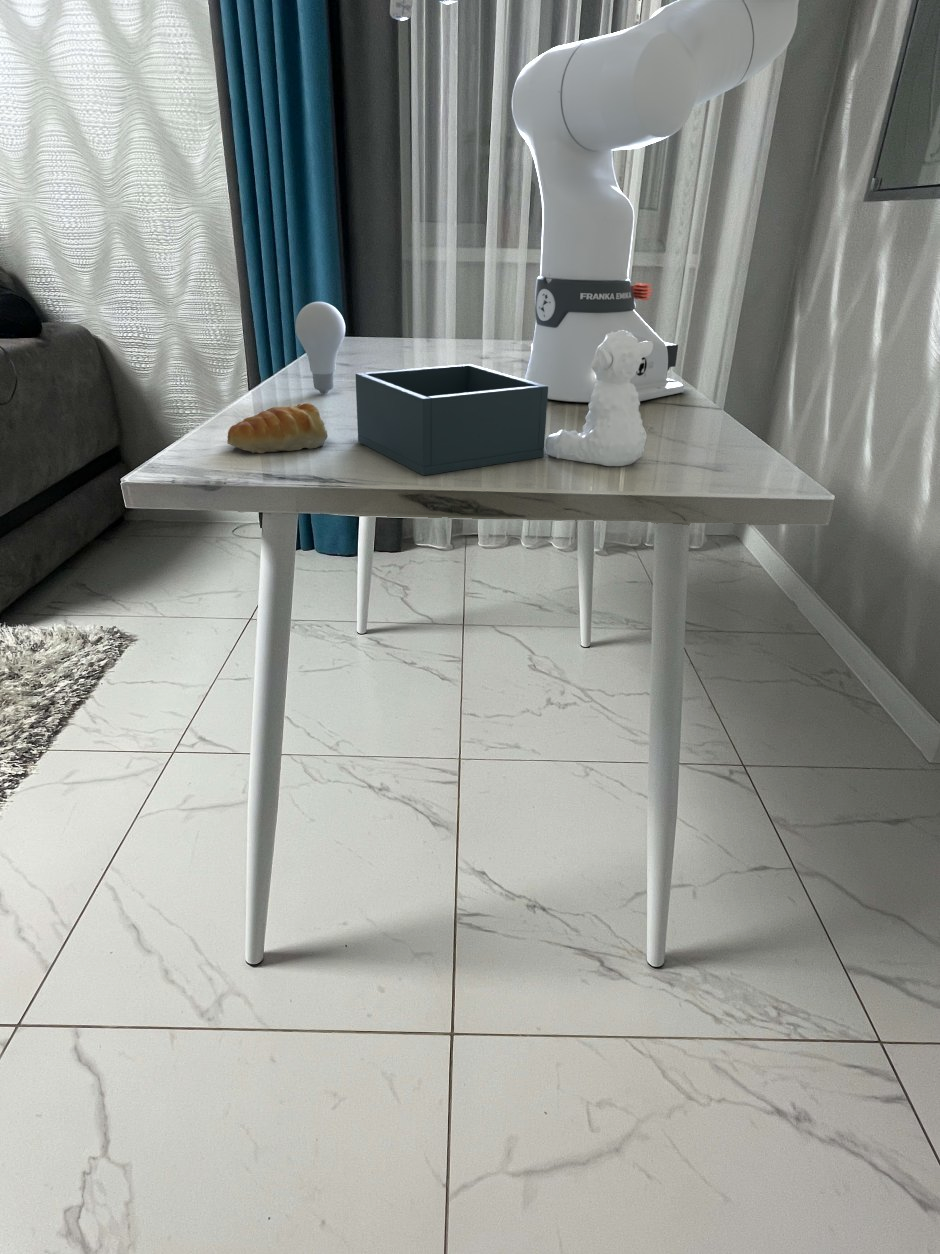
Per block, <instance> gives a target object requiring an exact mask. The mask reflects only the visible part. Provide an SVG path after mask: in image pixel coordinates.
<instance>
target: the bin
mask: <svg viewBox="0 0 940 1254" xmlns="http://www.w3.org/2000/svg"><path fill="white" fill-rule="evenodd" d="M354 375H355V396H356V398H355V399H356V420H357V422H356V423H357V442H358V443H359V444H362V445H363V446H366V447H368V448H369V449H370V450H371V449H372V450H373V451H375V452H377V453H379V454H381V455H383V456H385V457H387V458H389V459H391V460H393V461H395V462H396V463H398V464H401V465H402V466H404V467H406V468H408V469H410V470H412V471H414V472H416V473H417V474H420V475H421V476H429V475H435V474H436V475H437V474H443V473H450V472H456V471H462V470H468V469H475V468H480V467H481V468H482V467H488V466H493V465H500V464H508V463H513V462H519V461H526V460H533V459H538V458H539V459H540V458H544V456H545V443H546V427H547V412H548V400H549V399H548V386H546V385H542V384H539V383H535V382H532V381H528V380H525V378H522V377H517V376H514V375H510V374H508V373H503V372H500V371H497V370H493V369H489V368H486V367H482V366H479V365H476V364H472V363H468V364H467V363H466V364H454V365H442V366H441V365H440V366H431V367H418V368H416V367H415V368H405V369H392V370H381V371H368V372H358V373H357V372H356V373H355V374H354Z"/></svg>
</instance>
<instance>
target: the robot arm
mask: <svg viewBox="0 0 940 1254" xmlns="http://www.w3.org/2000/svg"><path fill="white" fill-rule="evenodd" d="M458 1H459V0H437V2H439V3H443V4H445V5H450V4H454V3H456V2H458ZM799 1H800V0H675V1H673V2H671V3H669V4H667V5H664V6H662V7H660V8H658V9H657V10H656V11H655V12H654V13H653V14H652V15H651V17H650V18H648V19H646V20H645V21H643V22H641V23H639V24H637V25H634V26H632V27H629V28H626V29H623V30H620V31H616V32H613V33H608V34H605V35H604V34H603V35H601V36H596V37H592V38H588V39H583V40H578V41H575V42H570V43H566V44H562V45H557V46H555V47H551V48H550V49H549V50H547V51H545V52H544V53H542V54H540V55H539V56H537V57H536V58H534V59H533V60H532V61H530V62H529V63H528V64H526V65H525V66H524V67H523V68H522V70H521V71H520V72H519V74H518V75H517V78H516V80H515V83H514V87H513V90H512V97H511V111H512V117H513V120H514V123H515V126H516V128H517V131H518V132H519V134H520V136H521V137H522V138H523V139H524V140H525V143H526V144H527V145H528V147H529V149H530V152H531V156H532V158H533V161H534V165H535V169H536V175H537V178H538V183H539V190H540V196H541V208H542V227H541V249H540V250H541V251H540V253H541V254H540V273H539V275H538V276H537V277H536V283H535V293H534V294H535V295H534V312H535V313H534V315H535V328H534V335H533V339H532V340H533V341H532V343H531V345H530V347H531V348H530V350H531V352H530V357H529V361H528V365H527V369H526V373H525V376H524V379H525V380H528V381H532V382H535V383H539V384H542V385H546V386H548V399H547V400H553V401H561V402H572V403H573V402H574V403H590V402H591V395H592V393H593V390H594V389H595V384H596V383H598V381H597V379H596V374H595V371H594V370H593V369H592V368H591V364H592V362H593V359H594V357H595V354H596V350H597V347H598V346H599V345H601V344H602V343H603V342H604V340H605V338H606V335H607V334H608V333H610V334H611V333H612V332H617V331H622V330H624V331H626V332H627V333H632V335H633V336H634V337H635V338H637V339H638V343H640V342H644V341H652V343H653V349H652V352H651V354H650V355H648V356H646V357H643V358H642V361H641V364H640V366H639V369H638V370H637V371H636V373H635V375H634V377H632V378H631V379H630V383H632V384H634V386H635V388H636V391H637V392H638V395H639V396H638V400H639V402H644V401H649V400H653V399H658V398H662V397H666V396H672V395H675V394H680V393H684V385H683V384H682V383H681V382H679V381H676V380H675V379H672V378H668V372H669V371H670V368H675V367H676V365H677V357H678V351H679V350H678V349H679V344H675V343H671V342H666V341H664V340H663V338H661V337H660V336H659V335H658V334H657V333H656V332H655V331H654V330H653V329H652V328H651V327H650V325H648V323H646V321H645V320H644V319H643V318H642V317H641V316H640V315H639V314H638V313H637V312H636V310H635V309H636V308H637V305H636V301H635V300H641V301H649V300H650V299H651V297H652V296H653V294H652V293H654V291H653V287H652V284H651V283H642V282H636V283H635V284H634V285H633V284H632V281H631V280H630V278H629V274H630V273H629V272H630V264H631V263H630V262H631V253H632V245H633V244H632V243H633V236H634V235H633V234H634V226H635V225H634V224H635V211H634V208H633V205H632V202H631V201H630V199H628V197H627V196H626V195H625V194H624V193H623V192H622V191H621V189H620V186H619V184H618V181H617V177H616V173H615V169H614V167H615V166H614V160H613V159H614V158H613V151H620V150H635V149H640V148H643V147H646V146H648V145H651V144H655V143H657V142H660V141H662V140H664V139H666V138H669V137H671V136H673V135H675V134H676V133H677V132H679V131H680V130H681V129H682V128H683V127H684V126H685V124H686V123H687V122H688V119H689V118H690V116H691V114H692V111H693V110H694V108H696V107H698V106H700V105H702V104H704V103H706V102H708V101H710V100H712V99H714V98H716V97H718V96H721V95H722V94H724V93H726V92H728V91H730V90H732V89H734V88H736V87H738V86H739V85H741V84H743V83H745V82H746V81H748V80H750V79H751V78H753V77H754V76H756V75H757V74H759V73H761V71H763V70H764V69H765V68H767V67H768V66H769V65H770V64H771V63H773V62H774V61H775V60H776V59H777V58H778V57H779V56H781V55H782V53H783V52H784V51H785V50H786V49H787V47H788V46H789V44H790V42H791V40H792V39H793V37H794V34H795V32H796V28H797V24H798V16H799V15H798V13H799V10H798V9H799ZM412 7H413V0H390V2H389V15H390V17H391V19H394V20H396V21H397V20H398V21H401V22H402V21H406V20H408V19H410V18H411V17H412V11H413V10H412Z"/></svg>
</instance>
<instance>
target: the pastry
mask: <svg viewBox="0 0 940 1254" xmlns="http://www.w3.org/2000/svg"><path fill="white" fill-rule="evenodd" d="M226 439H227V442H226V443H227V445H229V446H232V447H234V448H238V449H240V450H243V451H248V452H251V454H254V453H258V454H264V453H268V452H270V453H271V452H273V453H278V452H281V451H282V452H284V451H286V452H292V451H300V450H302V449H305V448H307V449H308V450H309V449H310V450H311V449H316V448H319V447H321V446H323V445H325V441H326V440H327V439H328V430H327V428H326V425H325V422H324V420H323V419H322V417H321V414H320V411H319V409H318V408H317V407H316V406H315V405H314V404H312V403H311V402H307V403H302V404H301V403H298V404H296V405H295V406H292V405H288V406H287V405H286V406H284V405H282V406H272V407H270V408H267V409H266V410H262V411H260V412H258V413H257V414H255V415H252V416H250V417H249V416H248V417H246V418H244V419H243V420H241V421H238V422H236V423H235V424H232V426H230V428H229V429H228V432H227V438H226Z"/></svg>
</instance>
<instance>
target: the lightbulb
mask: <svg viewBox="0 0 940 1254" xmlns="http://www.w3.org/2000/svg"><path fill="white" fill-rule="evenodd" d="M294 326H295V333H296V337H297V339H298V341H299V343H300V344H301V346H302V347H303V349H304V352H305V354H306V356H307V359H308V363H309V369H310V372H311V373H312V383H313V388H314V389H315V390H316V391H318V392H319V393H320V394H328V393H330V391H331V390H333V389H334V386H335V383H334V381H335V379H334V378H335V376H334V374H335V372H336V361H337V356H338V352H339V350H340V348H341V346H342V344H343V342H344V339H345V336H346V323H345V320H344V317H343V315H342V314H341V312H340V311H339V310H338V309H337V308H336V307H335V306H334V305H332V304H330V303H328V302H325V301H313V302H310V303H308V304H306V305H305V306H304V307H302V308H301V310H300V311H299V312H298V314H297V316H296V318H295V325H294Z"/></svg>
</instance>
